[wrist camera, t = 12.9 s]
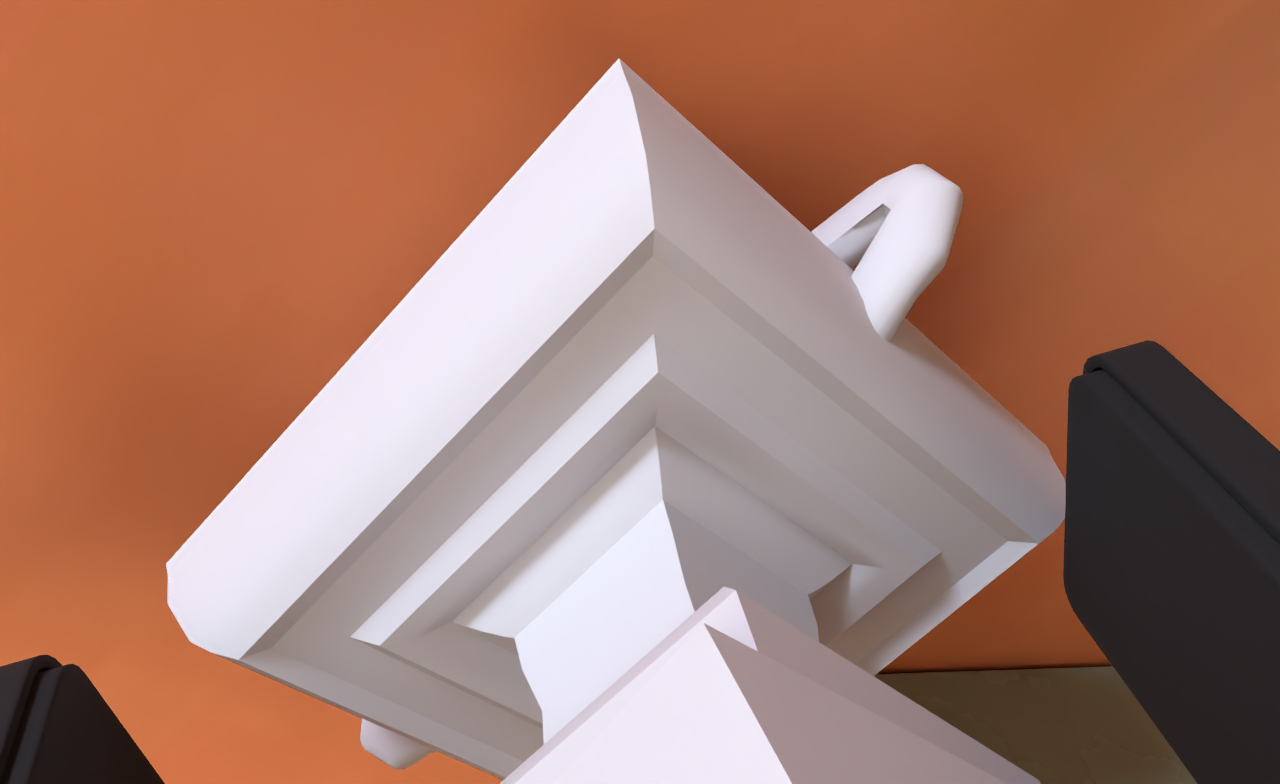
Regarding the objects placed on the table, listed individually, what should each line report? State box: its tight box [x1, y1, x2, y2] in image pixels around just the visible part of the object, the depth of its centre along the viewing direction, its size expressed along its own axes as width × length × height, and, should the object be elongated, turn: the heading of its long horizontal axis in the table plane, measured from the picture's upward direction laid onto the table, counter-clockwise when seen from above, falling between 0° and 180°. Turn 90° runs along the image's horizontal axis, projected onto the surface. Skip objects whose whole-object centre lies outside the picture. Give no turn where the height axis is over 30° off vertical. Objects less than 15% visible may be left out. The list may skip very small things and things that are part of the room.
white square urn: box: [166, 59, 1066, 784], centre depth 10 cm, size 9×7×8 cm
